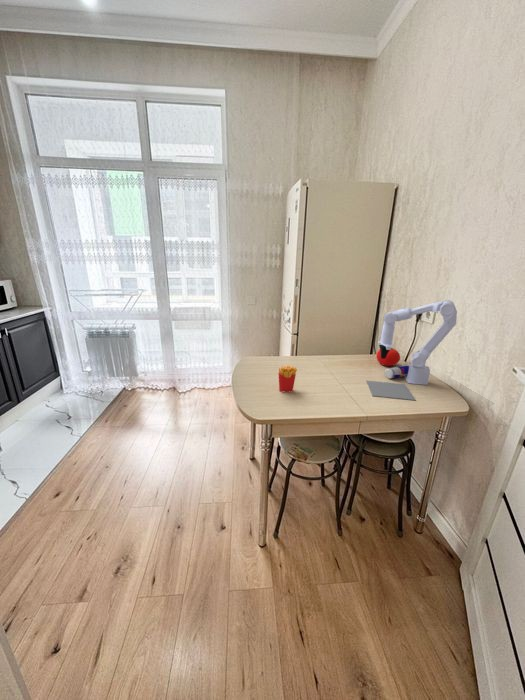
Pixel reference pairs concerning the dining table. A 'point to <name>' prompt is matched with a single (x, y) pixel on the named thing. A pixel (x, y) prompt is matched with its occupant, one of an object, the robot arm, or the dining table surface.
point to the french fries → (287, 378)
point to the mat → (390, 390)
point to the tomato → (389, 358)
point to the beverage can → (397, 371)
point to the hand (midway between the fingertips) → (382, 358)
